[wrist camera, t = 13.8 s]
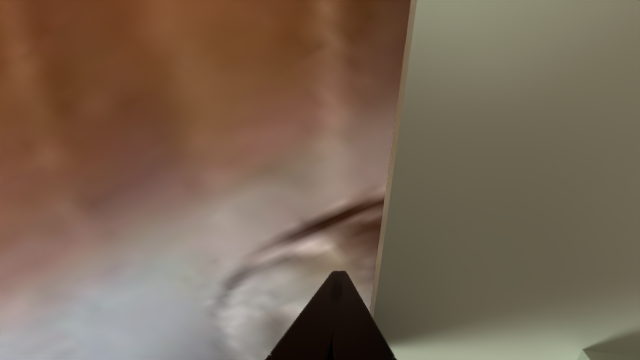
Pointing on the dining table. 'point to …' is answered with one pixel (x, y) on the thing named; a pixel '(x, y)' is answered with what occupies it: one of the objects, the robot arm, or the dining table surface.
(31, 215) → the dining table surface
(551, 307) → the cover
